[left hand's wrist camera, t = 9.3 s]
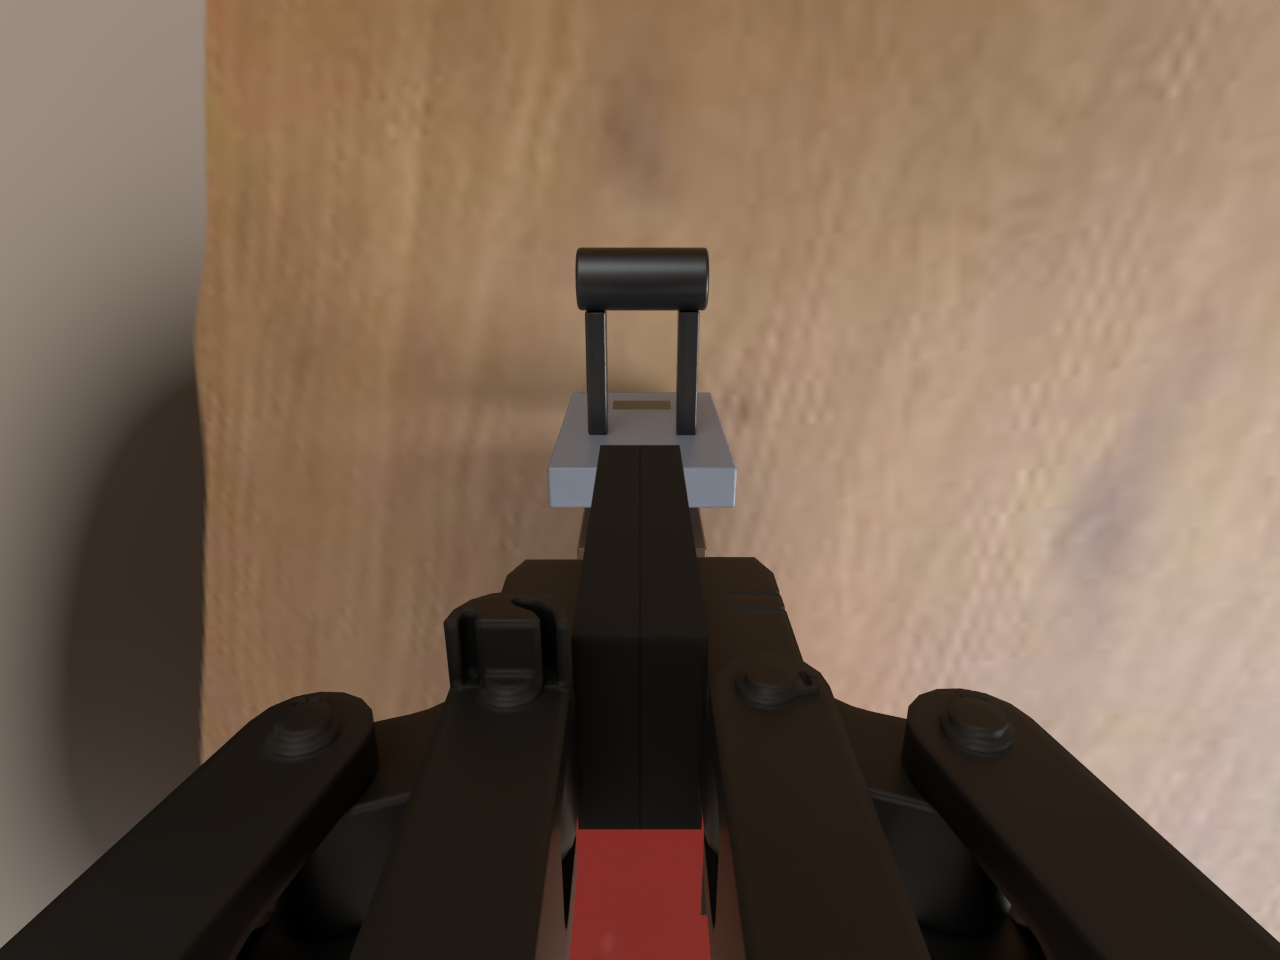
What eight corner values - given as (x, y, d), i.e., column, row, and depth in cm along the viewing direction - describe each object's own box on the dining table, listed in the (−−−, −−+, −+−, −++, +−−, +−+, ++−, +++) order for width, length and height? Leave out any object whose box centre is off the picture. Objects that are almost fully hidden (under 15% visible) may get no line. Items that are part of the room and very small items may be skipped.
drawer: (566, 236, 26) (537, 257, 19) (716, 236, 26) (748, 257, 19) (584, 775, 35) (568, 941, 27) (697, 775, 35) (714, 941, 27)
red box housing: (567, 618, 33) (537, 789, 23) (715, 618, 33) (745, 789, 23) (579, 937, 40) (560, 1167, 30) (702, 937, 40) (721, 1168, 30)
